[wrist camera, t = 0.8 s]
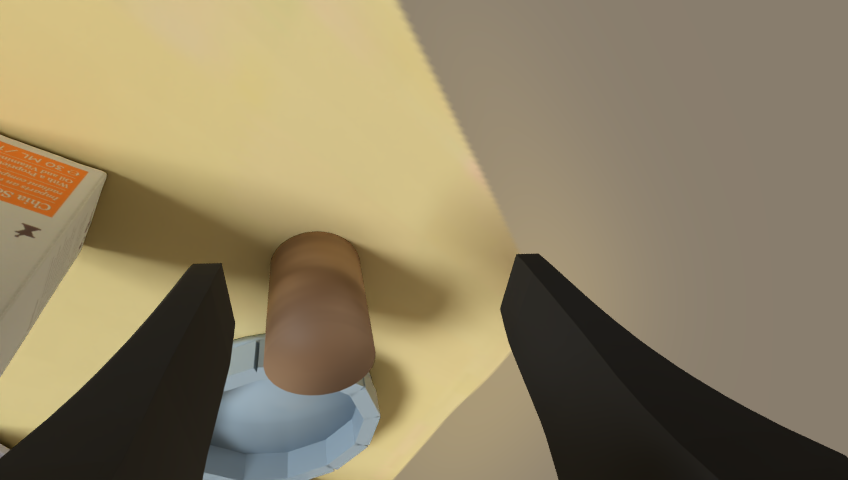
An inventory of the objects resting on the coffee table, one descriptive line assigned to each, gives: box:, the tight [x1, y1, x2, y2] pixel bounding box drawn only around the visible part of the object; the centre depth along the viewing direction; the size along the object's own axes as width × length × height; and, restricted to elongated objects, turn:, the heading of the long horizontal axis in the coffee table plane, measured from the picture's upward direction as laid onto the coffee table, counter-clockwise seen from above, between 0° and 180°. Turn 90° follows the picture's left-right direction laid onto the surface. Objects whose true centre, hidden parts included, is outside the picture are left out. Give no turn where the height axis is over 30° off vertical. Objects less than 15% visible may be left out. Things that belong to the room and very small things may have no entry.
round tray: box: [203, 334, 380, 480], centre depth 27 cm, size 12×12×2 cm
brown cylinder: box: [263, 232, 375, 395], centre depth 21 cm, size 4×4×6 cm
